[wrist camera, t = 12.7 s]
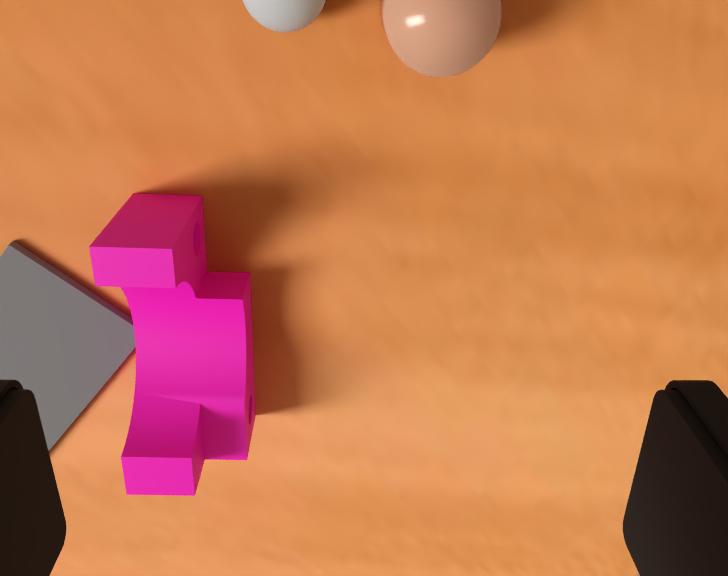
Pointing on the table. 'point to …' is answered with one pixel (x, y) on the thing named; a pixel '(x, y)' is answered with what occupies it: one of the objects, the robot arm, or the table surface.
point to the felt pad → (57, 338)
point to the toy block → (179, 343)
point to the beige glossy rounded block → (441, 33)
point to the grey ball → (284, 13)
